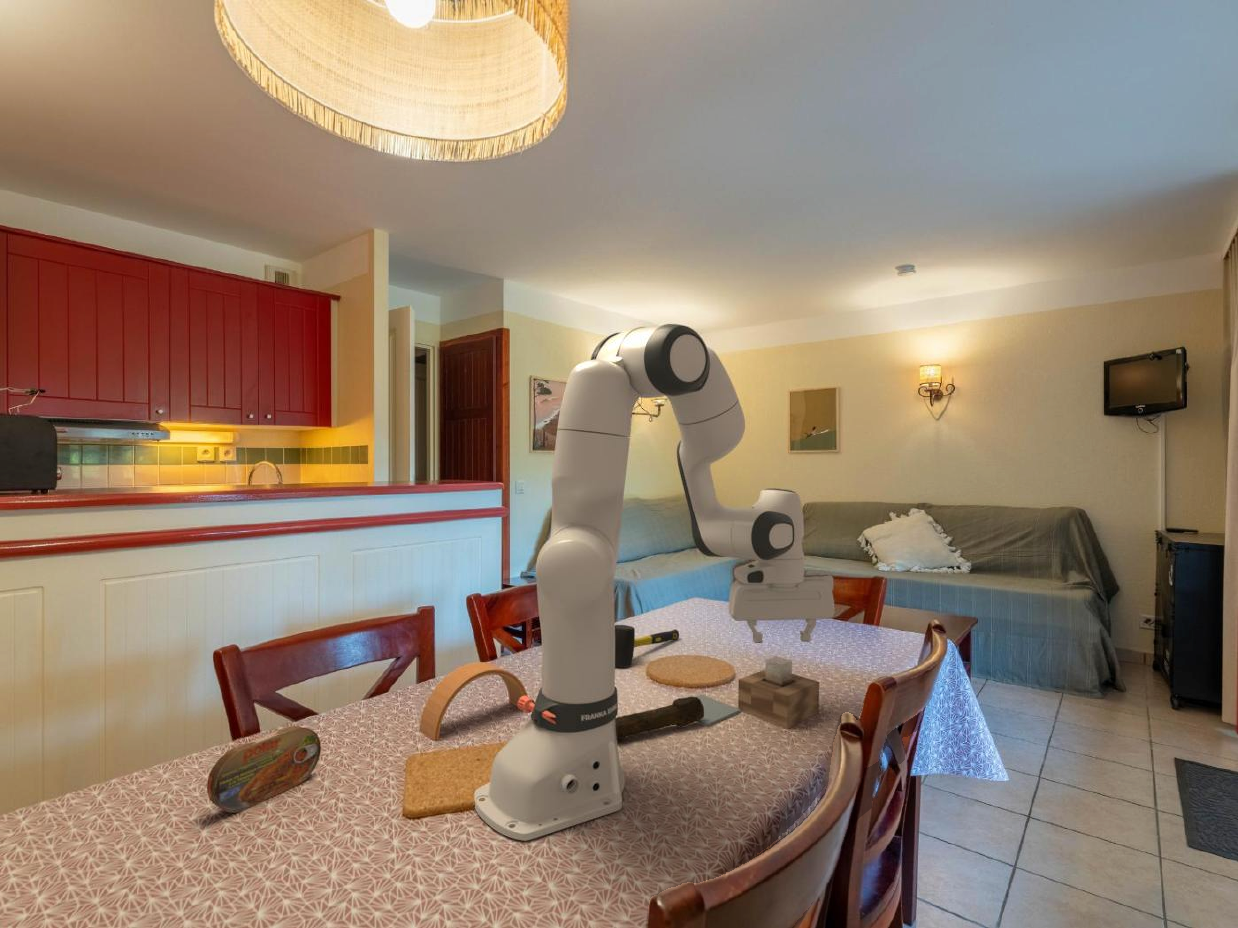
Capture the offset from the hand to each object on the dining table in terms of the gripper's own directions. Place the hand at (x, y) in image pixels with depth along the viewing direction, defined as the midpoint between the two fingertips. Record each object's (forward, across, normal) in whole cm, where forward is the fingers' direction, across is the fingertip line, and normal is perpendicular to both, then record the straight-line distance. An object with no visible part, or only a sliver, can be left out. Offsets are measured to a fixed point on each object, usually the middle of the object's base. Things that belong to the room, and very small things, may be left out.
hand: (781, 641), depth 117 cm
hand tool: (+13, +25, +8) cm, 30 cm away
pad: (+13, +15, 0) cm, 20 cm away
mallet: (+14, +24, -36) cm, 45 cm away
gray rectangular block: (+12, +1, 0) cm, 12 cm away
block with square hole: (+14, +1, 0) cm, 14 cm away
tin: (+12, +84, +27) cm, 89 cm away
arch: (+13, +59, +3) cm, 60 cm away
